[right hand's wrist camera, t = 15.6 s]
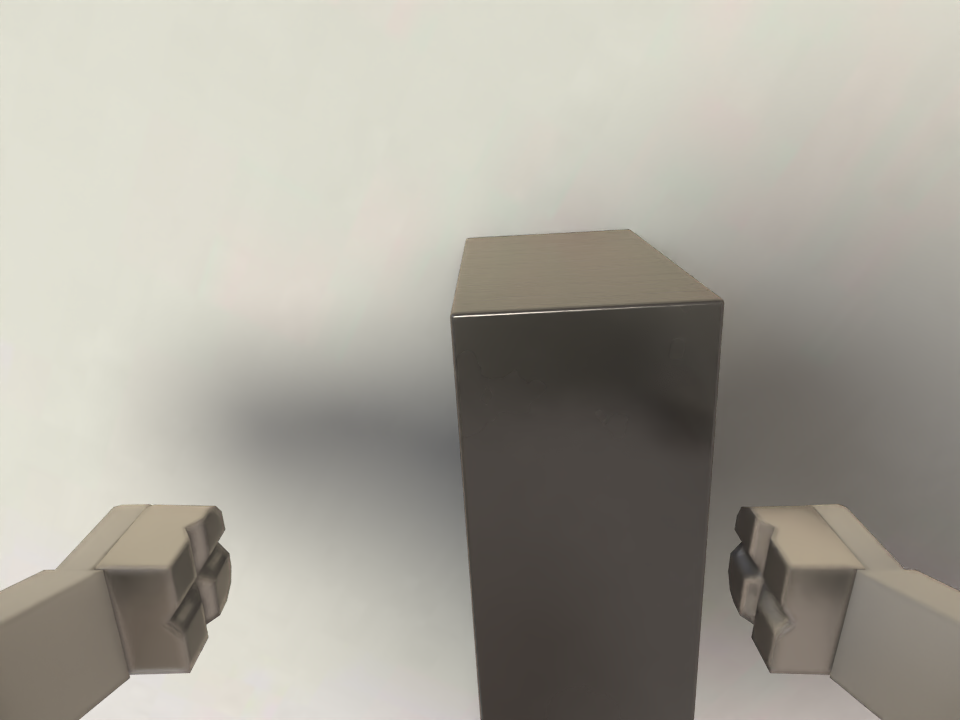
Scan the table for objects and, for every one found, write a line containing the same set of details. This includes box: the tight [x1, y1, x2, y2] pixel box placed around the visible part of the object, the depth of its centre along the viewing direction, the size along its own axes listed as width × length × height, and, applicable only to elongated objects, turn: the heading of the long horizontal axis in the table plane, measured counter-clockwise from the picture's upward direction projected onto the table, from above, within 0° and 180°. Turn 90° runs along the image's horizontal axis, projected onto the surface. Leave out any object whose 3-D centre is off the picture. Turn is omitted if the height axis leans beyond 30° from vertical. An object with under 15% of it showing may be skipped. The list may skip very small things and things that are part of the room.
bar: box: [450, 229, 724, 720], centre depth 20 cm, size 27×5×8 cm, turn 3°
